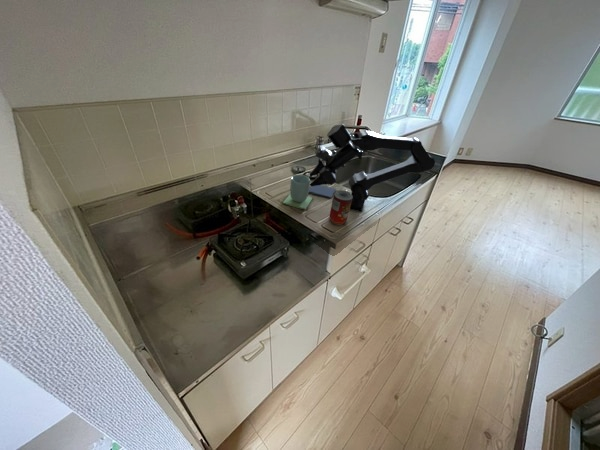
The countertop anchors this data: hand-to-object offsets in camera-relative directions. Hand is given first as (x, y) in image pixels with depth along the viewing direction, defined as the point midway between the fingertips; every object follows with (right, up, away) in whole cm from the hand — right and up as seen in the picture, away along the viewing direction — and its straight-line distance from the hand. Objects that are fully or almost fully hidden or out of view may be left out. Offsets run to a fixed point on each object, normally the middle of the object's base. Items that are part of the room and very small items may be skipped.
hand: (310, 180), depth 97 cm
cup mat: (-5, -8, +6) cm, 11 cm away
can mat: (+6, -3, +15) cm, 17 cm away
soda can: (+11, -17, -2) cm, 20 cm away
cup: (-5, -8, +6) cm, 11 cm away
